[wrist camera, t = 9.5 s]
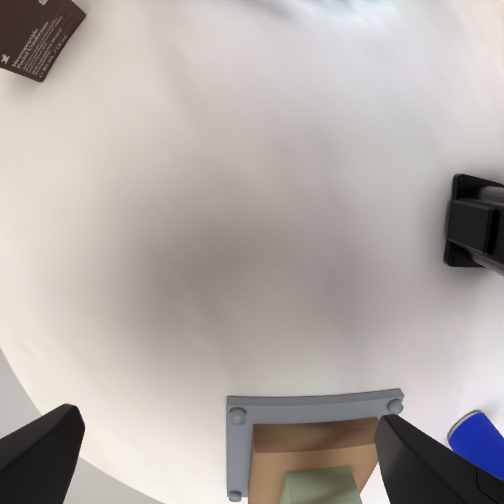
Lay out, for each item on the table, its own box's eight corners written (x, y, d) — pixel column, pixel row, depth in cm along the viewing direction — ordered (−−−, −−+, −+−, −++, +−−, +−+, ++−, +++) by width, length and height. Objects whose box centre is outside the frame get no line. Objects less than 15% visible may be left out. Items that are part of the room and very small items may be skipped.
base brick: (376, 416, 21) (388, 441, 18) (347, 481, 24) (354, 503, 21) (253, 424, 21) (254, 452, 18) (247, 488, 23) (248, 512, 20)
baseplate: (399, 388, 22) (408, 401, 20) (358, 481, 25) (362, 493, 23) (227, 396, 21) (226, 412, 20) (227, 489, 25) (226, 502, 23)
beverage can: (445, 428, 24) (506, 526, 9) (482, 401, 23) (552, 488, 9) (447, 448, 25) (498, 536, 10) (481, 424, 24) (539, 504, 10)
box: (45, 84, 15) (-83, 47, 4) (13, 68, 15) (-99, 35, 3) (93, 13, 14) (-4, -70, 3) (57, 2, 14) (-35, -63, 2)
